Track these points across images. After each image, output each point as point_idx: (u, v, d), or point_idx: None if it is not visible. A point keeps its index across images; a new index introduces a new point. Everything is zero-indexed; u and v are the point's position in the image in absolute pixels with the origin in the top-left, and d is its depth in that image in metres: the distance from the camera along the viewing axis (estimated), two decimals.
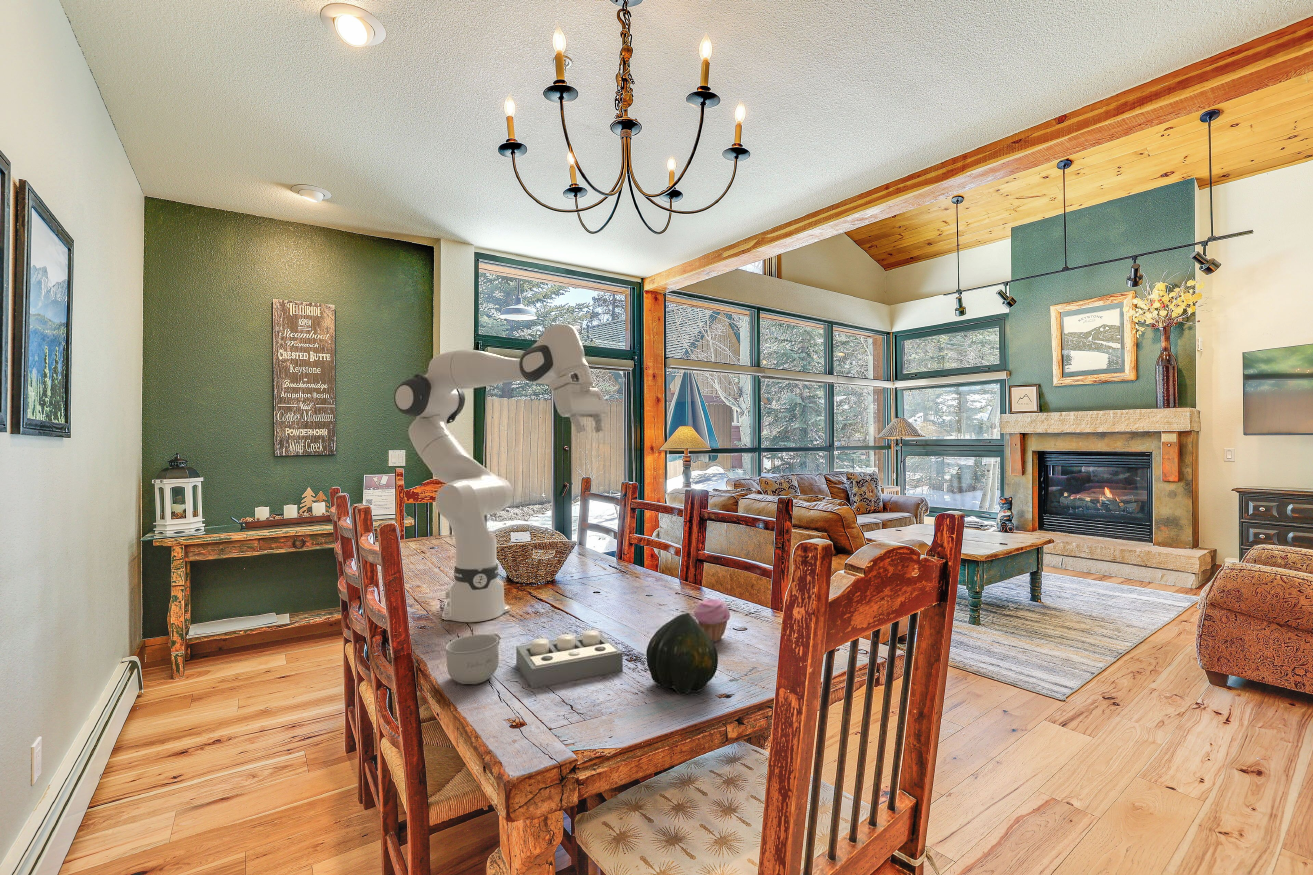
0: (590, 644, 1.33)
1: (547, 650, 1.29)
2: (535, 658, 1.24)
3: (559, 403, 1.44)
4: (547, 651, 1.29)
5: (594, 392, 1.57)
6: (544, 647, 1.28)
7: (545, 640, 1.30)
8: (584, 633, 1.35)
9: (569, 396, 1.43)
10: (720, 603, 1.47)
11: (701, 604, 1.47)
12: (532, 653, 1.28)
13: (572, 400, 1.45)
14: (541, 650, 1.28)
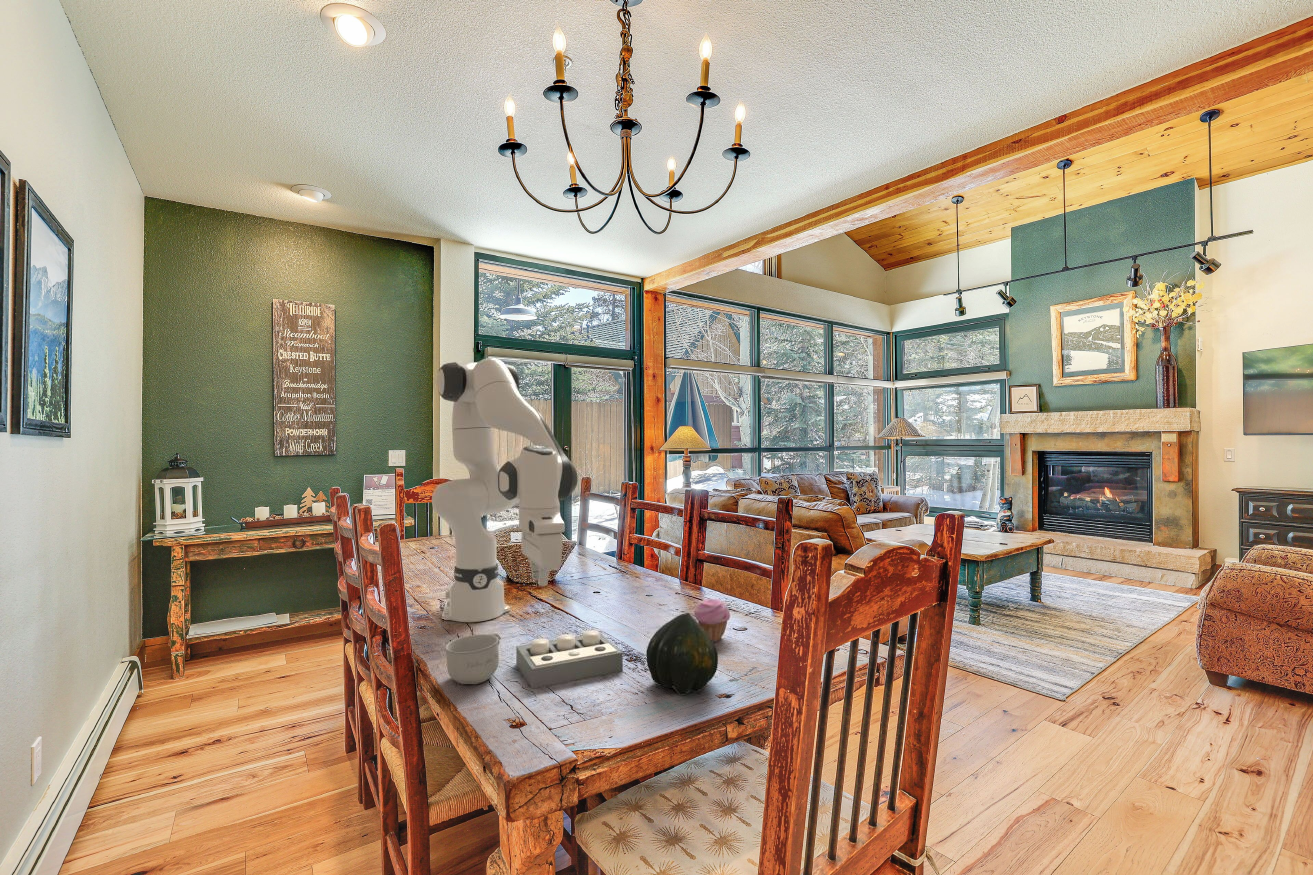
0: (590, 644, 1.33)
1: (547, 650, 1.29)
2: (535, 658, 1.24)
3: (549, 555, 1.20)
4: (547, 651, 1.29)
5: None
6: (544, 647, 1.28)
7: (545, 640, 1.30)
8: (584, 633, 1.35)
9: (561, 549, 1.22)
10: (720, 603, 1.47)
11: (701, 604, 1.47)
12: (532, 653, 1.28)
13: None
14: (541, 650, 1.28)
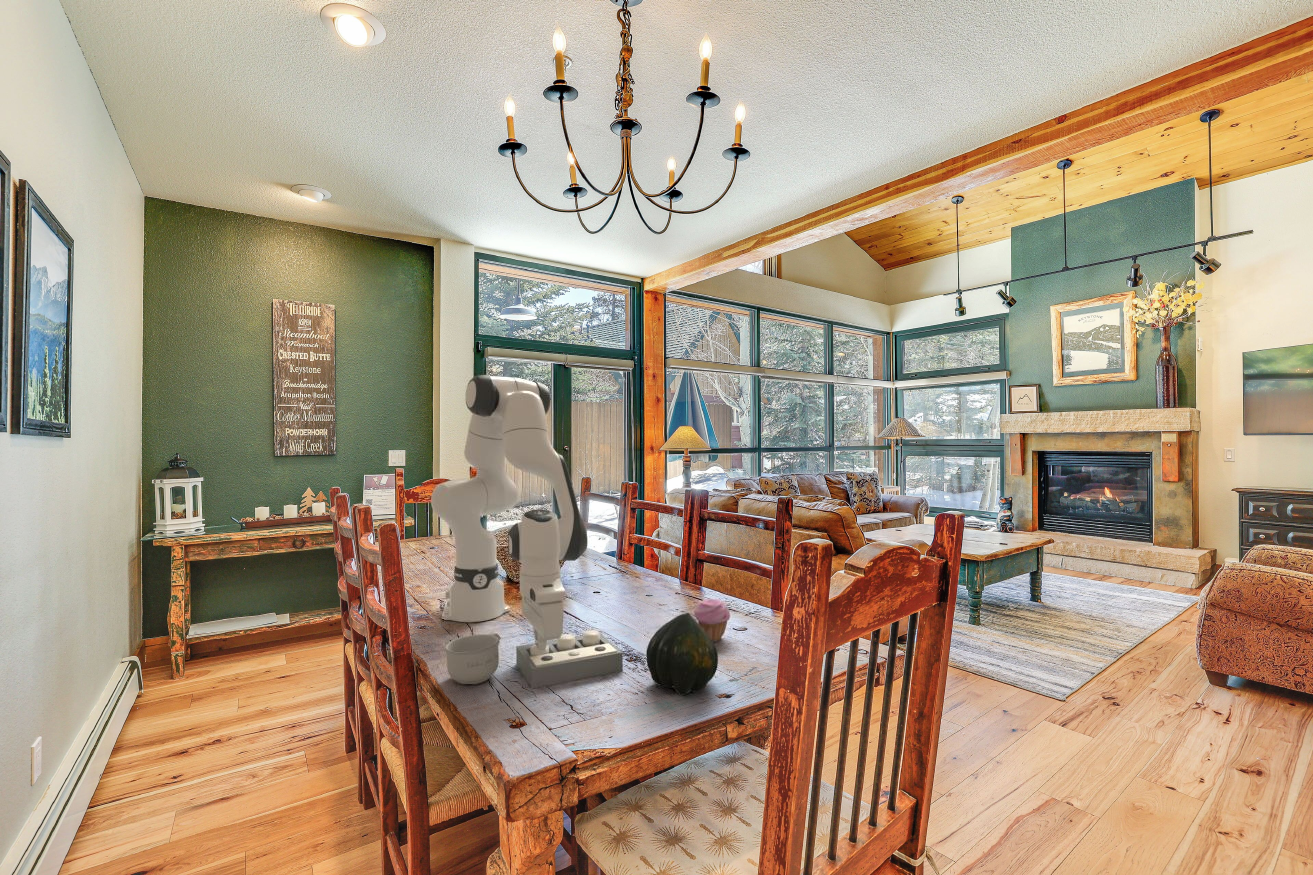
0: (590, 644, 1.33)
1: None
2: (535, 658, 1.24)
3: (551, 625, 1.20)
4: None
5: None
6: (544, 653, 1.28)
7: None
8: (584, 633, 1.35)
9: None
10: (720, 603, 1.47)
11: (701, 604, 1.47)
12: None
13: None
14: None
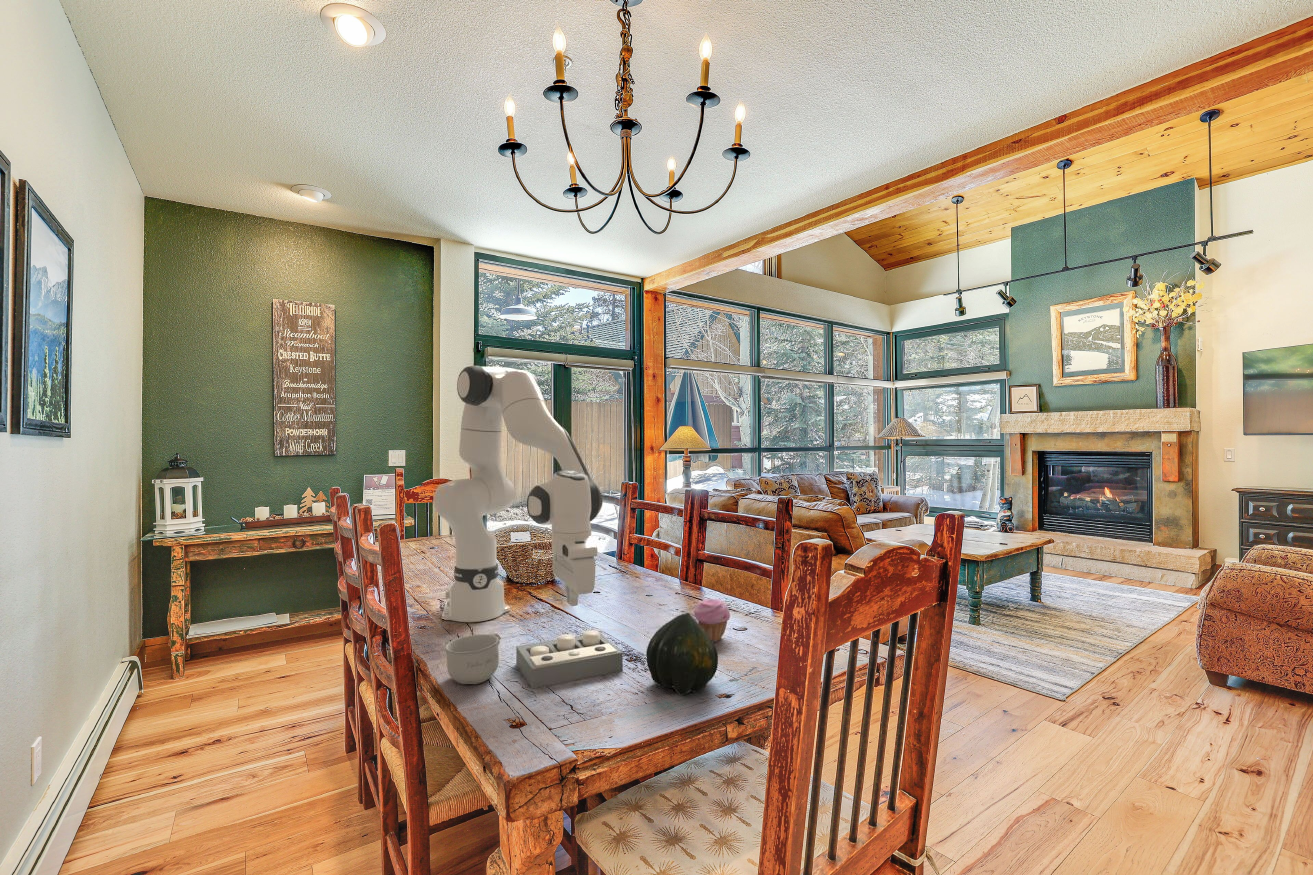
0: (590, 644, 1.33)
1: None
2: (535, 658, 1.24)
3: (583, 579, 1.23)
4: None
5: None
6: None
7: (545, 647, 1.30)
8: (584, 633, 1.35)
9: None
10: (720, 603, 1.47)
11: (701, 604, 1.47)
12: None
13: None
14: None
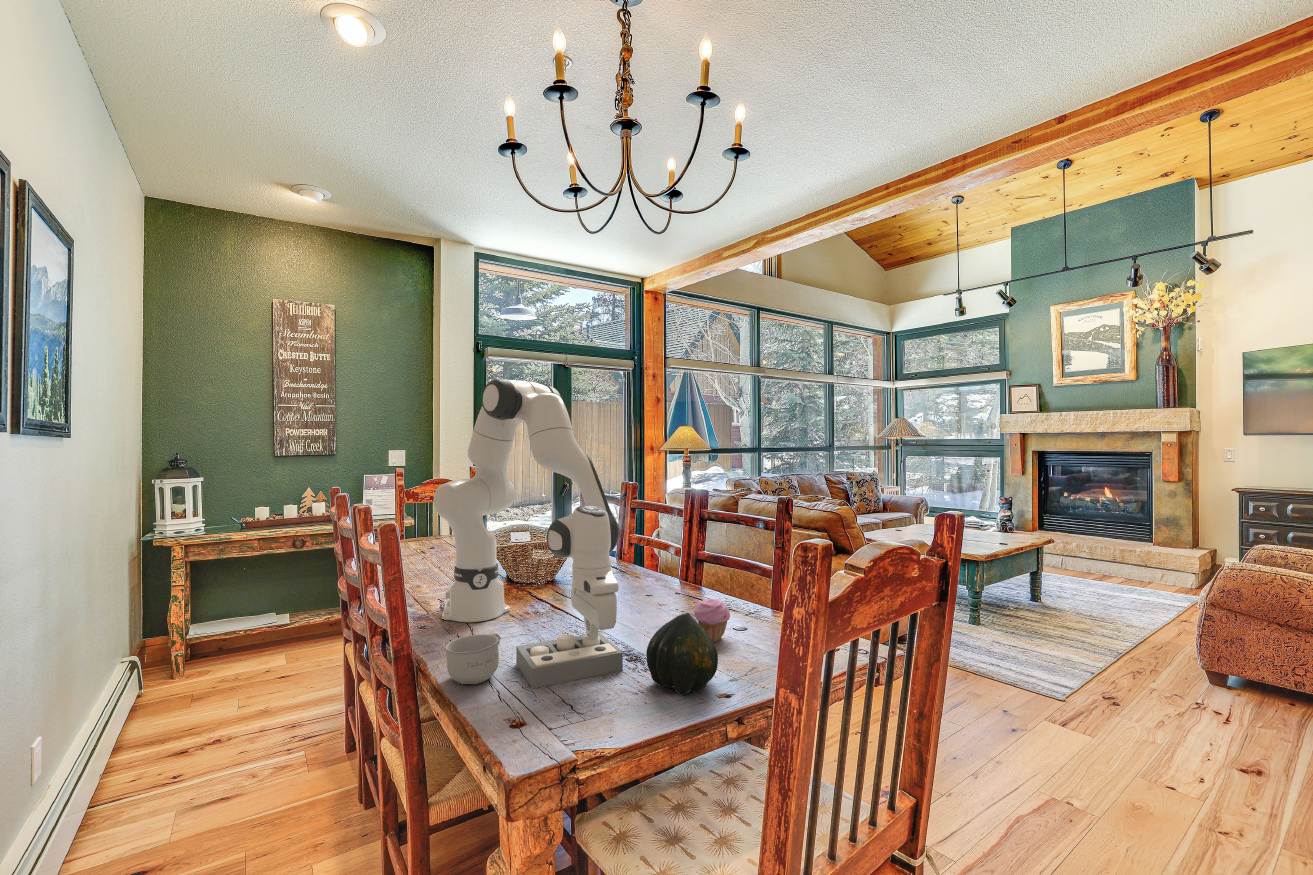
0: None
1: None
2: (535, 658, 1.24)
3: (605, 615, 1.26)
4: None
5: None
6: None
7: (545, 647, 1.30)
8: (584, 637, 1.35)
9: None
10: (720, 603, 1.47)
11: (701, 604, 1.47)
12: None
13: None
14: None
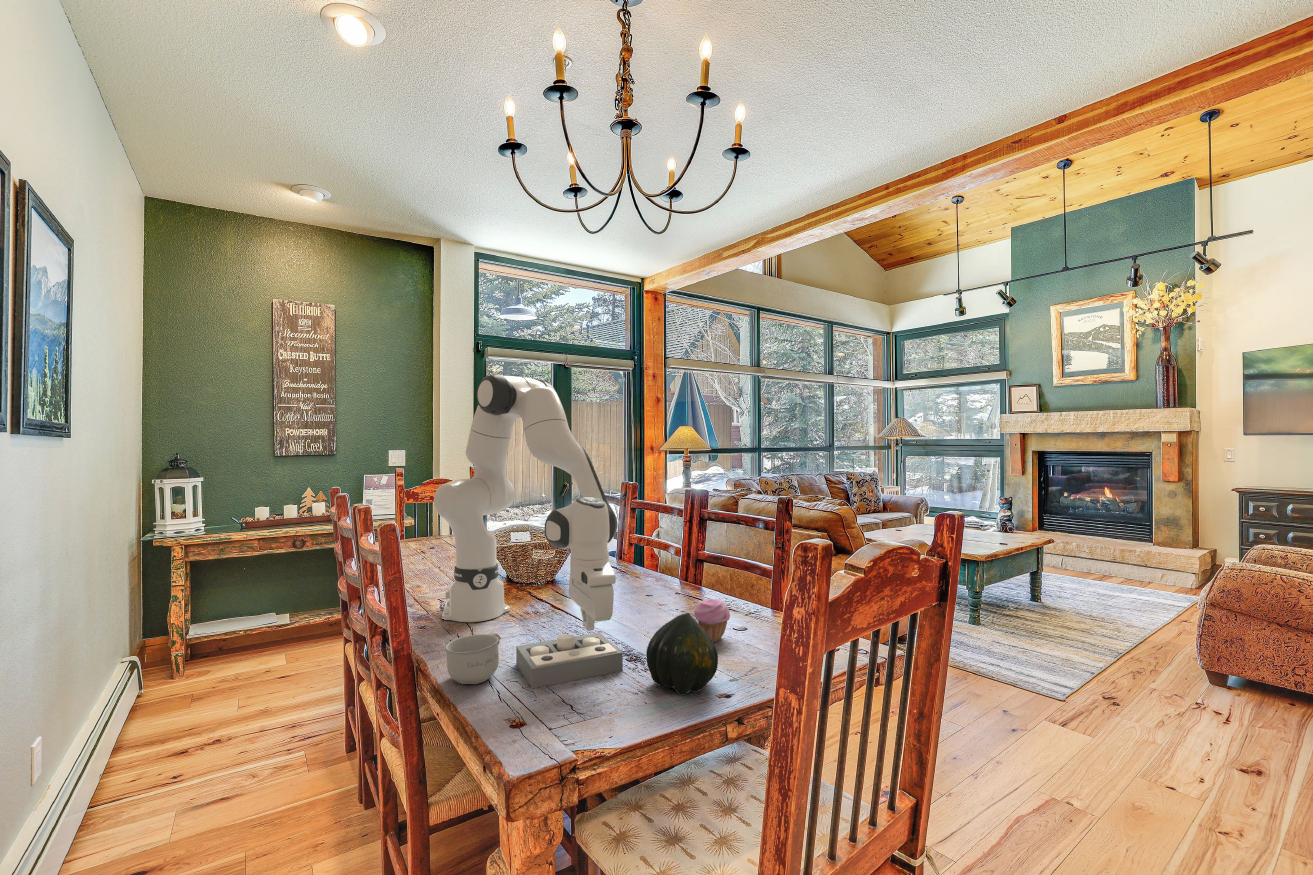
0: None
1: None
2: (535, 658, 1.24)
3: (602, 607, 1.26)
4: None
5: None
6: None
7: (545, 647, 1.30)
8: (584, 640, 1.35)
9: None
10: (720, 603, 1.47)
11: (701, 604, 1.47)
12: None
13: None
14: None
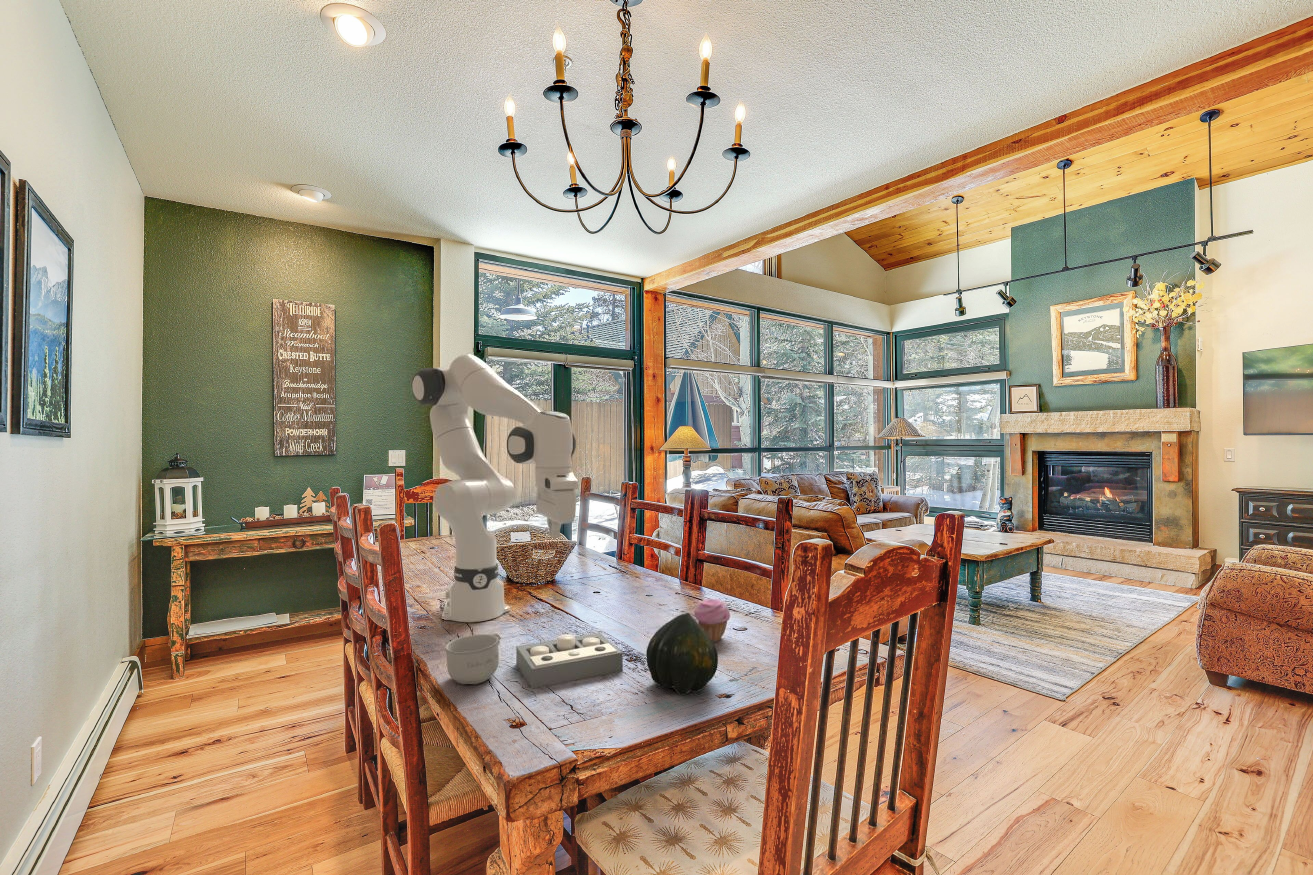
0: None
1: None
2: (535, 658, 1.24)
3: (564, 509, 1.31)
4: None
5: None
6: None
7: (545, 647, 1.30)
8: (584, 640, 1.35)
9: (575, 504, 1.33)
10: (720, 603, 1.47)
11: (701, 604, 1.47)
12: None
13: None
14: None
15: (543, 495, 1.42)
